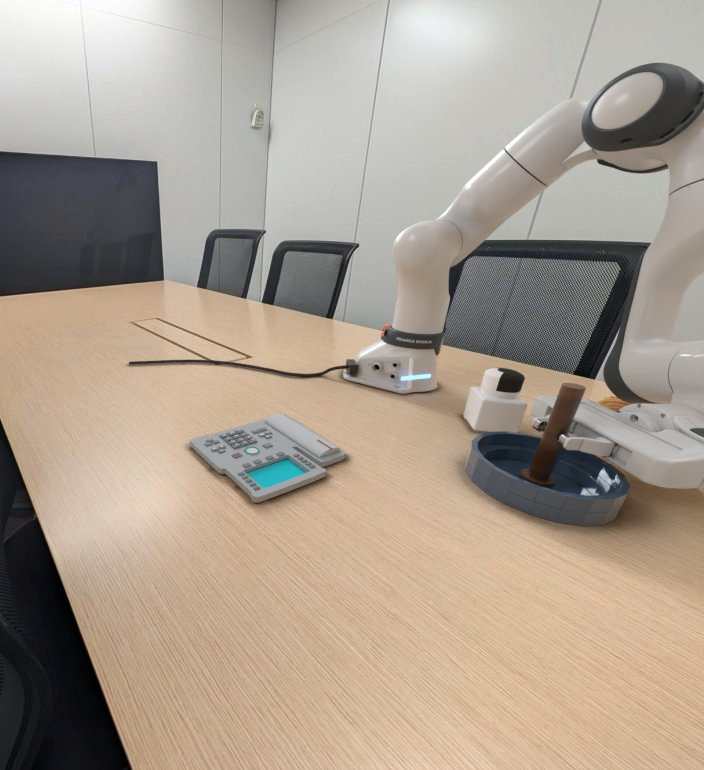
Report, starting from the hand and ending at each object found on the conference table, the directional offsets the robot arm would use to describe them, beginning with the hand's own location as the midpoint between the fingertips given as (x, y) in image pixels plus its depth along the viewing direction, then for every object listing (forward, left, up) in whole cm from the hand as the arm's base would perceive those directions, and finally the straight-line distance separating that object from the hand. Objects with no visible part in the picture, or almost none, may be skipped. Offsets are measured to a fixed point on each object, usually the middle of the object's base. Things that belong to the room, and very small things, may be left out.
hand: (547, 432), depth 54 cm
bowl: (+1, 0, -10) cm, 10 cm away
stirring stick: (+1, 0, -9) cm, 9 cm away
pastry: (+18, +38, -10) cm, 43 cm away
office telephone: (-37, -13, -10) cm, 41 cm away
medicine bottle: (-4, +20, -10) cm, 23 cm away
